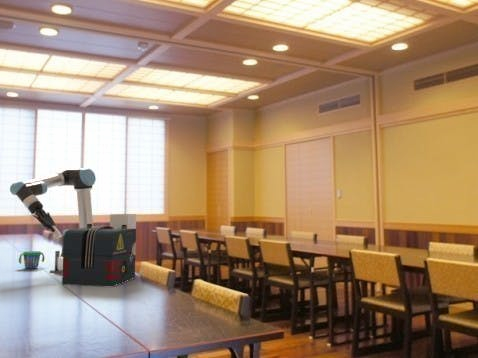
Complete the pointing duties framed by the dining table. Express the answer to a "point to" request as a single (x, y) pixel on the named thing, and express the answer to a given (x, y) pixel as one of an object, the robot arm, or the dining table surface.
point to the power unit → (98, 256)
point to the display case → (123, 222)
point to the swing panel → (60, 263)
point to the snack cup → (31, 259)
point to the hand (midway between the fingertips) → (58, 235)
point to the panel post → (56, 263)
